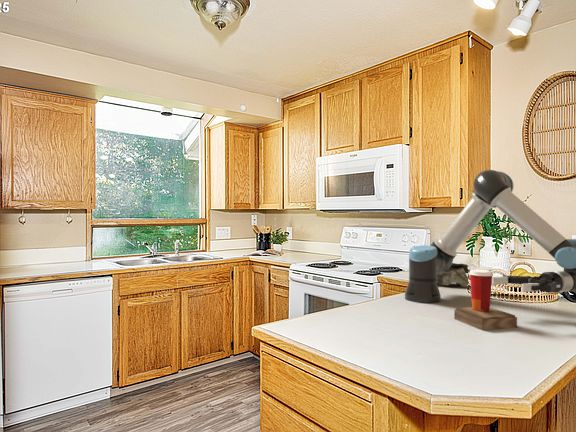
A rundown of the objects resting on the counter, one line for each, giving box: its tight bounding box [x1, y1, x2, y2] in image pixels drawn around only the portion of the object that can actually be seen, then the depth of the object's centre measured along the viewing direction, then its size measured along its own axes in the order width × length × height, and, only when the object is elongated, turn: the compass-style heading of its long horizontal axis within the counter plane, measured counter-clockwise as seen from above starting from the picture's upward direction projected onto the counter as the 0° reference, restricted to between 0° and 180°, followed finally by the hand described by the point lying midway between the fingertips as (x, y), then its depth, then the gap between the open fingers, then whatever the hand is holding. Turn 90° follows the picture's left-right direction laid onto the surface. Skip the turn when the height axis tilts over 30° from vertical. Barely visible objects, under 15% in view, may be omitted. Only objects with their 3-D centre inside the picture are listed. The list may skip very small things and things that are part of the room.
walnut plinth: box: [453, 306, 518, 331], centre depth 140 cm, size 14×14×4 cm
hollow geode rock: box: [437, 262, 471, 288], centre depth 209 cm, size 28×13×15 cm
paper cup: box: [468, 268, 493, 312], centre depth 142 cm, size 8×8×14 cm
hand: (506, 284), depth 142 cm, fingers open, 13 cm apart
